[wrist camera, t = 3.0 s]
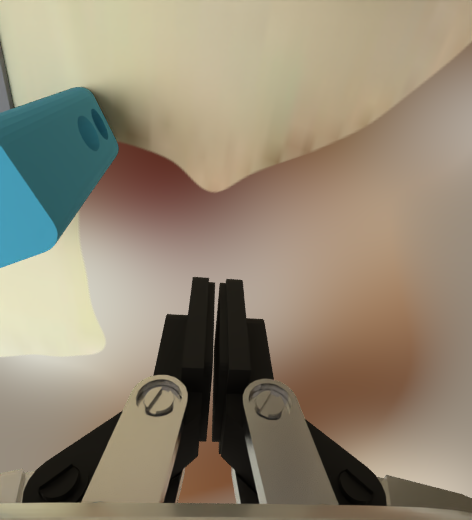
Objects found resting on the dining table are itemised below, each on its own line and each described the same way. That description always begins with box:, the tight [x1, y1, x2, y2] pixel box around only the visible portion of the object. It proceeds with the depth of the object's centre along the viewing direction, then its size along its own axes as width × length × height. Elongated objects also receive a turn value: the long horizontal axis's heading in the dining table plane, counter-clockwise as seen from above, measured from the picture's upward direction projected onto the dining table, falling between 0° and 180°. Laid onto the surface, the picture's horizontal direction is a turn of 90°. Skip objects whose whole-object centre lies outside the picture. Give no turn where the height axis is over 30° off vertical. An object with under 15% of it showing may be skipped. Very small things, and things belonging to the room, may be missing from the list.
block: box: [0, 87, 119, 268], centre depth 22 cm, size 12×5×20 cm, turn 109°
